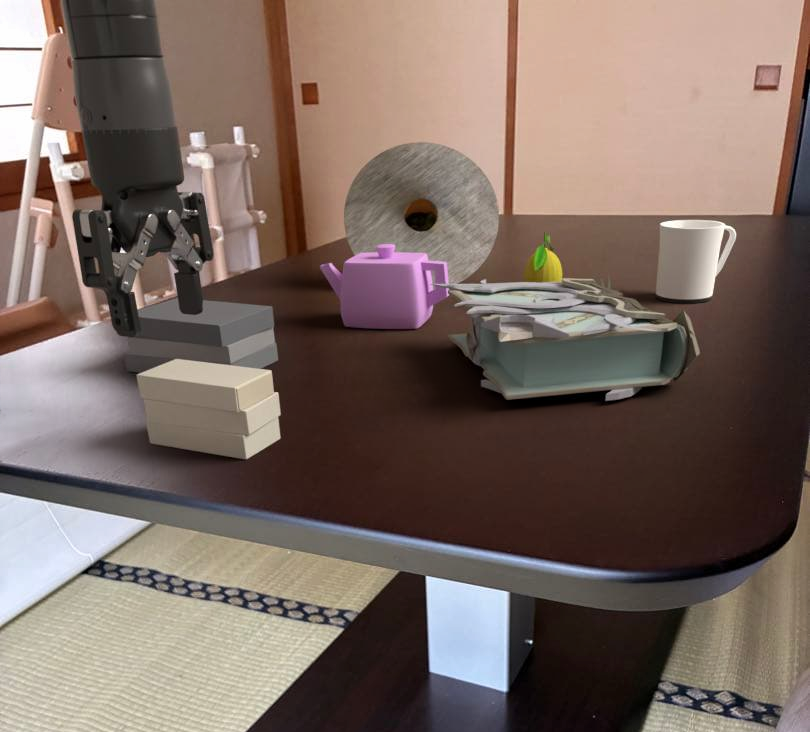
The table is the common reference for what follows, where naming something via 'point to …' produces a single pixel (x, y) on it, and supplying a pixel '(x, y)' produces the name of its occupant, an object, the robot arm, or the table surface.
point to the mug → (690, 259)
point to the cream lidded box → (214, 427)
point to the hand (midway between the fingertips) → (162, 324)
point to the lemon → (543, 265)
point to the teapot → (387, 288)
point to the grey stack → (203, 336)
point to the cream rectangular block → (206, 384)
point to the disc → (424, 207)
